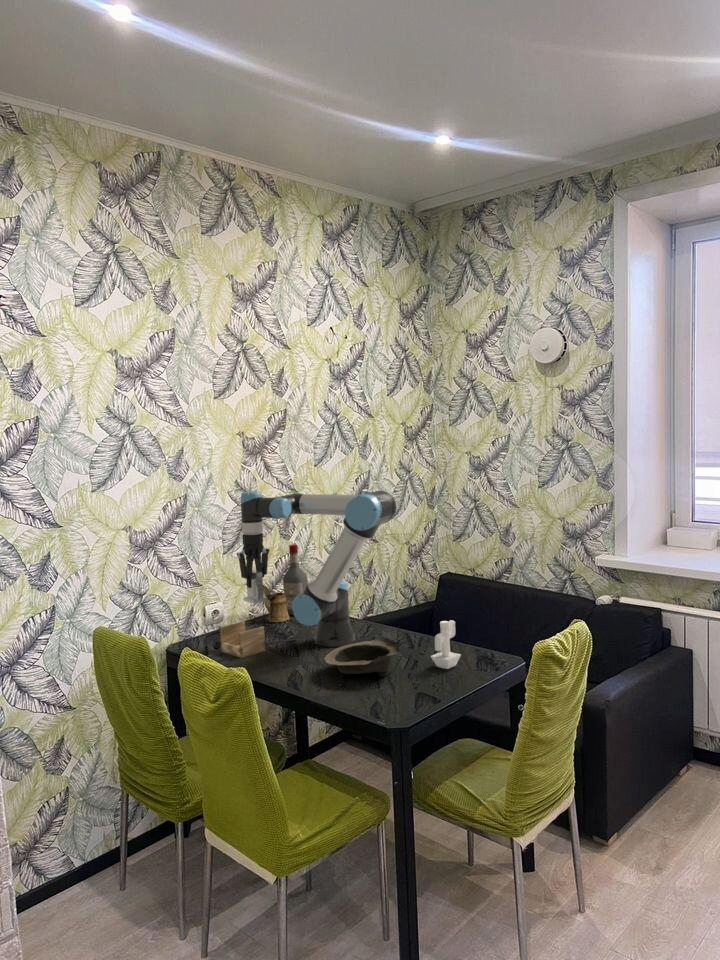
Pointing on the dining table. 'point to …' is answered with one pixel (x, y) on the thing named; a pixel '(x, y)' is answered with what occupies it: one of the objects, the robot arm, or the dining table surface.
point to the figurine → (445, 646)
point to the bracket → (256, 589)
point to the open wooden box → (242, 640)
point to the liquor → (293, 579)
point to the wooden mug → (276, 606)
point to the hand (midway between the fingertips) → (255, 595)
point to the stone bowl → (365, 657)
